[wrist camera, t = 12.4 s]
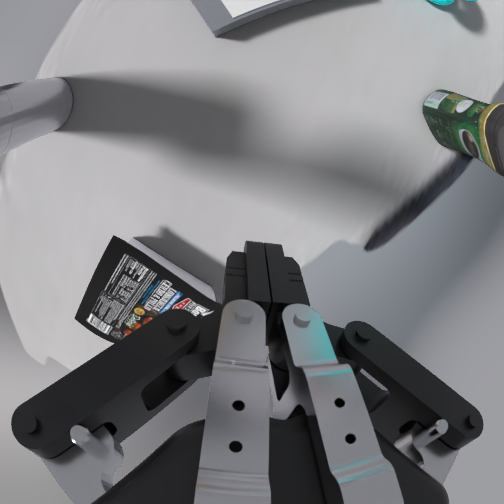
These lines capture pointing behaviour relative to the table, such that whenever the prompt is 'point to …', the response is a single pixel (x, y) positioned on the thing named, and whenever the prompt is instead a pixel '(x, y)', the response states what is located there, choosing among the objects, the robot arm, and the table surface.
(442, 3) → the donuts
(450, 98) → the coffee jar
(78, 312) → the food packaging
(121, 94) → the table surface
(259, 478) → the robot arm
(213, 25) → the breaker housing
